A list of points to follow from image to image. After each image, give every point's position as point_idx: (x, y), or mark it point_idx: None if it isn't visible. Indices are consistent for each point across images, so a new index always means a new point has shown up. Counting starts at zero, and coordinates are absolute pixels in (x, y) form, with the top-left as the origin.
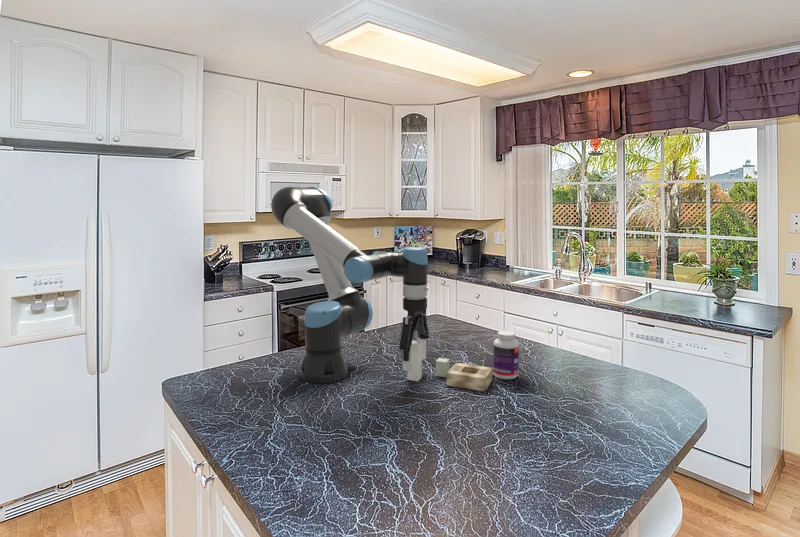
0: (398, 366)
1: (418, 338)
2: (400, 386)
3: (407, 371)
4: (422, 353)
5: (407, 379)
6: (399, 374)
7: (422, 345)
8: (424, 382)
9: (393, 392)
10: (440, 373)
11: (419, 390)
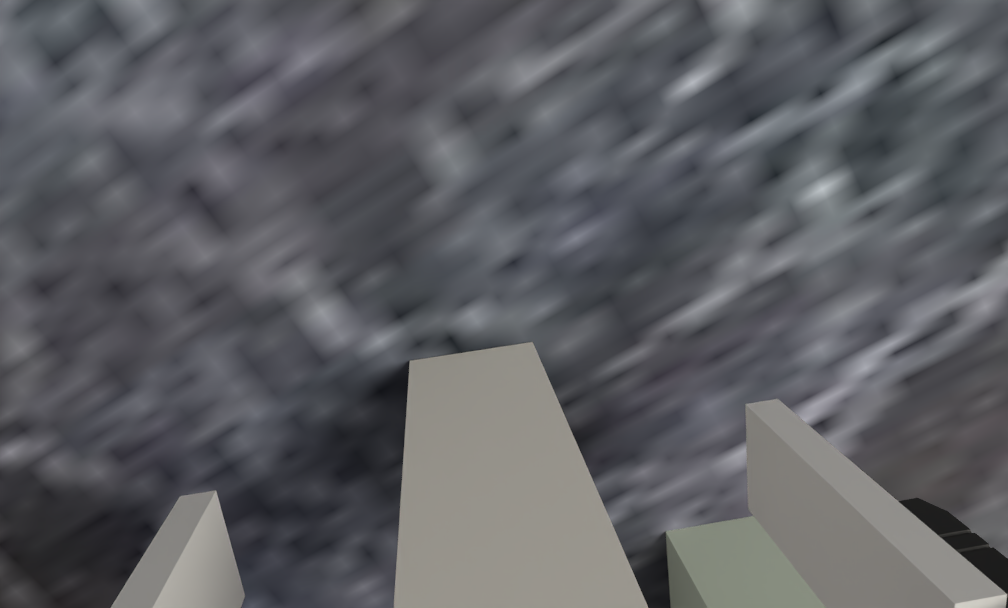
0: (745, 34)
1: (992, 601)
2: (199, 398)
3: (407, 402)
4: (783, 517)
5: (410, 363)
6: (505, 197)
7: (864, 604)
8: None
9: (10, 425)
10: (679, 595)
11: None
